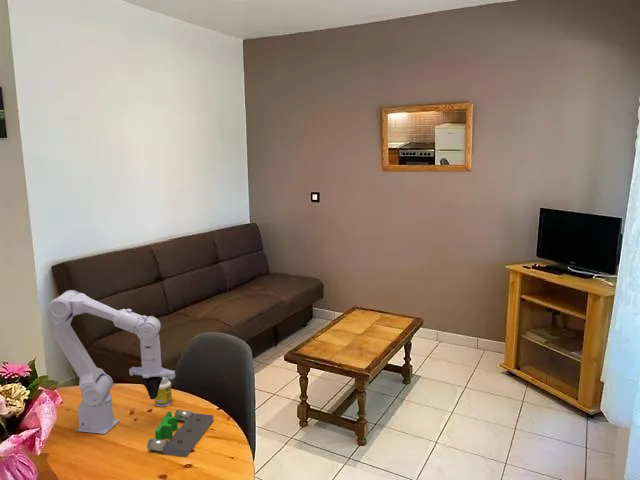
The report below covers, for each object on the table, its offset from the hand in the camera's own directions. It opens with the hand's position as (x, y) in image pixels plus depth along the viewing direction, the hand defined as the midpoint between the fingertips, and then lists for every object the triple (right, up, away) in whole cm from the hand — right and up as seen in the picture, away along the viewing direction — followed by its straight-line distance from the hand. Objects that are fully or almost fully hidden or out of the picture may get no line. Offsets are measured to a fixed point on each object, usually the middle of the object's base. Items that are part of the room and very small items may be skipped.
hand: (153, 397), depth 154 cm
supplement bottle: (-1, -7, +14) cm, 16 cm away
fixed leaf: (+10, -10, -5) cm, 15 cm away
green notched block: (+6, -10, -4) cm, 12 cm away
